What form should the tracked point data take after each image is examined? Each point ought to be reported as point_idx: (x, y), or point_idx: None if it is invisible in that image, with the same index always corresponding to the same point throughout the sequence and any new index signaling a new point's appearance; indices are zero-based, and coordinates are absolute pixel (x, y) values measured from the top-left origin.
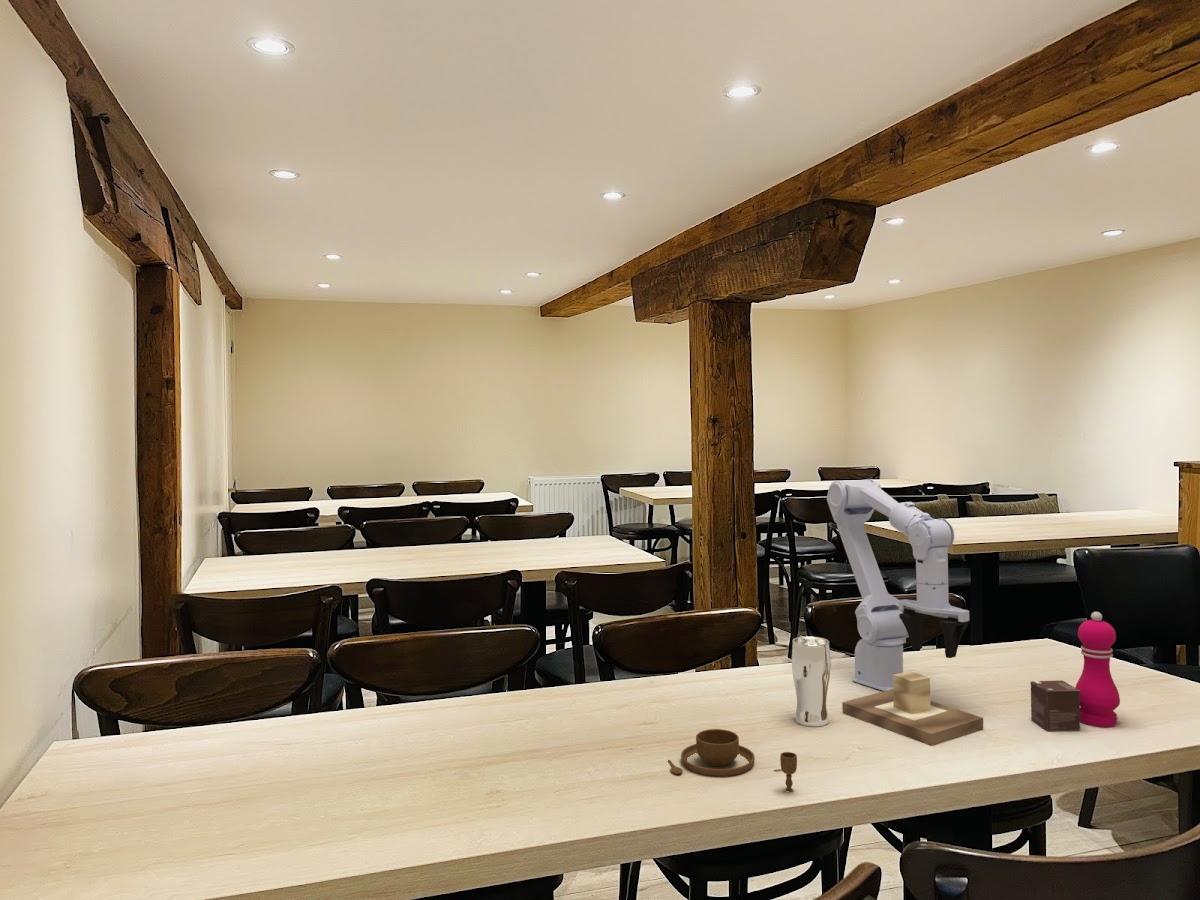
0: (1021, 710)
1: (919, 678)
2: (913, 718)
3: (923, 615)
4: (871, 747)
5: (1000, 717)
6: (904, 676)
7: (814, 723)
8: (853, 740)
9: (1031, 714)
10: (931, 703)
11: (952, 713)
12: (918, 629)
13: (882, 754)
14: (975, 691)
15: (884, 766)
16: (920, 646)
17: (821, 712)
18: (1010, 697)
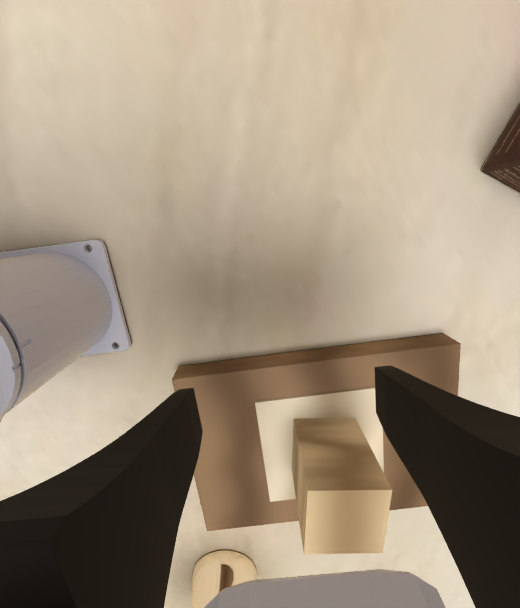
0: (417, 120)
1: (377, 518)
2: None
3: (93, 535)
4: (379, 562)
5: (418, 229)
6: (337, 541)
7: None
8: (339, 567)
9: (495, 169)
10: (314, 375)
11: None
12: (160, 484)
13: (412, 565)
14: (221, 93)
15: (447, 587)
16: (193, 404)
17: None
18: (320, 33)
